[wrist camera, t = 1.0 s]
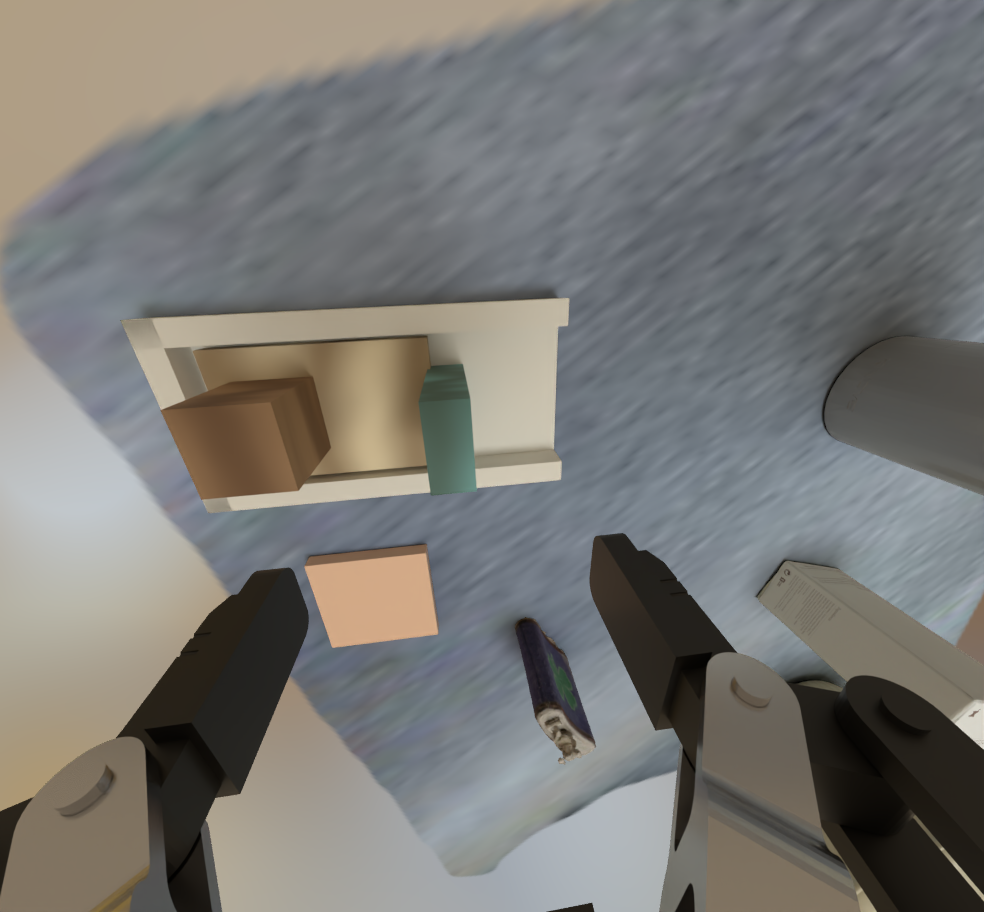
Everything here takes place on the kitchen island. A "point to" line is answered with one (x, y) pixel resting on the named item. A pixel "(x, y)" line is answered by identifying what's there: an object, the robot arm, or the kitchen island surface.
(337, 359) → the l-shaped stand
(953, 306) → the kitchen island surface
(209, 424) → the block
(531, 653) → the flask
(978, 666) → the skincare box
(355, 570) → the plate
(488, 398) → the cream tray
